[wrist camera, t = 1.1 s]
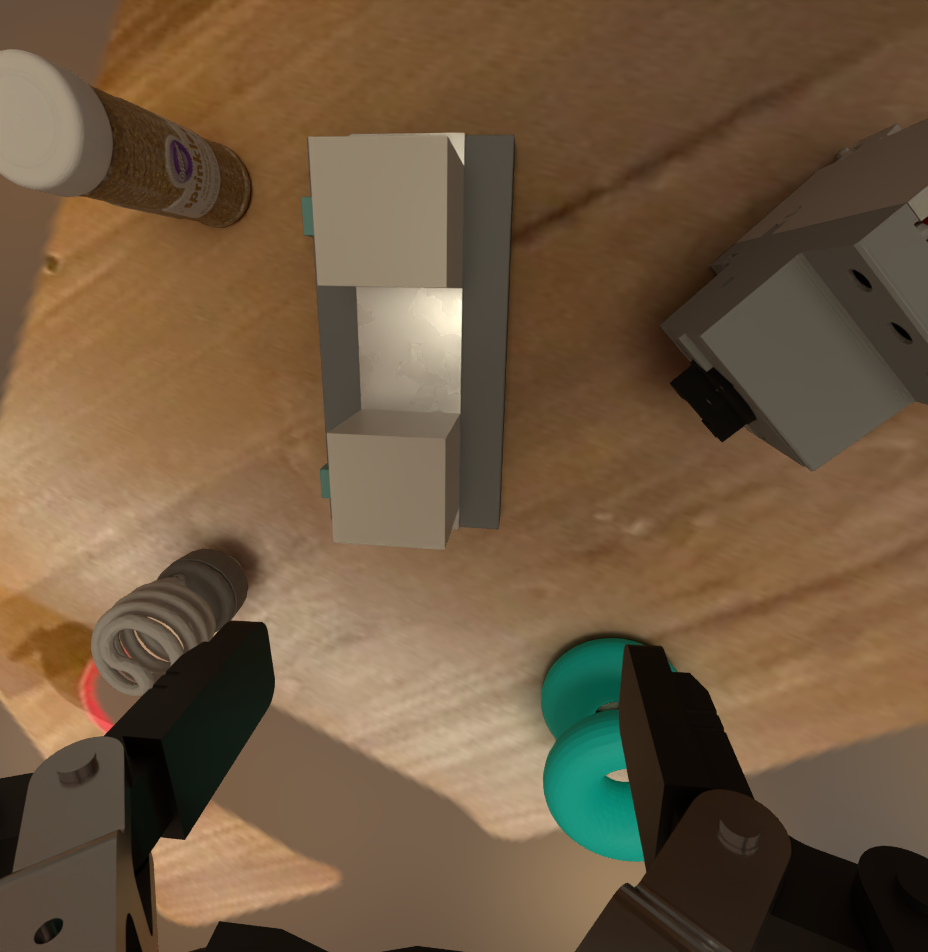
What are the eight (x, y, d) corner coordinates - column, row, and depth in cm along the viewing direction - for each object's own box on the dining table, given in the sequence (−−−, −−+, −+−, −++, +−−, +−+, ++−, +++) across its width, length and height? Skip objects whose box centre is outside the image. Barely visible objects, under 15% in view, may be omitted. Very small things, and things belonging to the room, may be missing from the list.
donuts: (694, 716, 29) (750, 853, 31) (654, 611, 38) (699, 723, 41) (516, 763, 31) (581, 888, 34) (519, 653, 41) (570, 757, 43)
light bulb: (280, 590, 41) (185, 703, 30) (214, 604, 42) (98, 718, 31) (251, 521, 40) (139, 613, 28) (184, 537, 41) (50, 632, 29)
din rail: (352, 136, 29) (349, 134, 29) (465, 135, 29) (464, 132, 28) (368, 521, 36) (366, 524, 36) (459, 526, 36) (458, 529, 35)
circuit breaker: (622, 342, 33) (689, 380, 19) (843, 148, 29) (1142, 10, 15) (700, 433, 34) (819, 533, 20) (924, 260, 30) (1275, 232, 16)
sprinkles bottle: (263, 217, 33) (97, 171, 20) (195, 236, 34) (-6, 203, 21) (238, 132, 32) (44, 27, 19) (168, 153, 33) (-63, 65, 20)
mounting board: (320, 146, 32) (307, 137, 30) (515, 144, 30) (514, 134, 29) (341, 507, 39) (331, 518, 37) (500, 517, 37) (498, 529, 36)
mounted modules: (336, 166, 30) (290, 136, 24) (464, 166, 29) (447, 135, 23) (352, 501, 36) (319, 541, 30) (458, 507, 35) (444, 549, 29)
